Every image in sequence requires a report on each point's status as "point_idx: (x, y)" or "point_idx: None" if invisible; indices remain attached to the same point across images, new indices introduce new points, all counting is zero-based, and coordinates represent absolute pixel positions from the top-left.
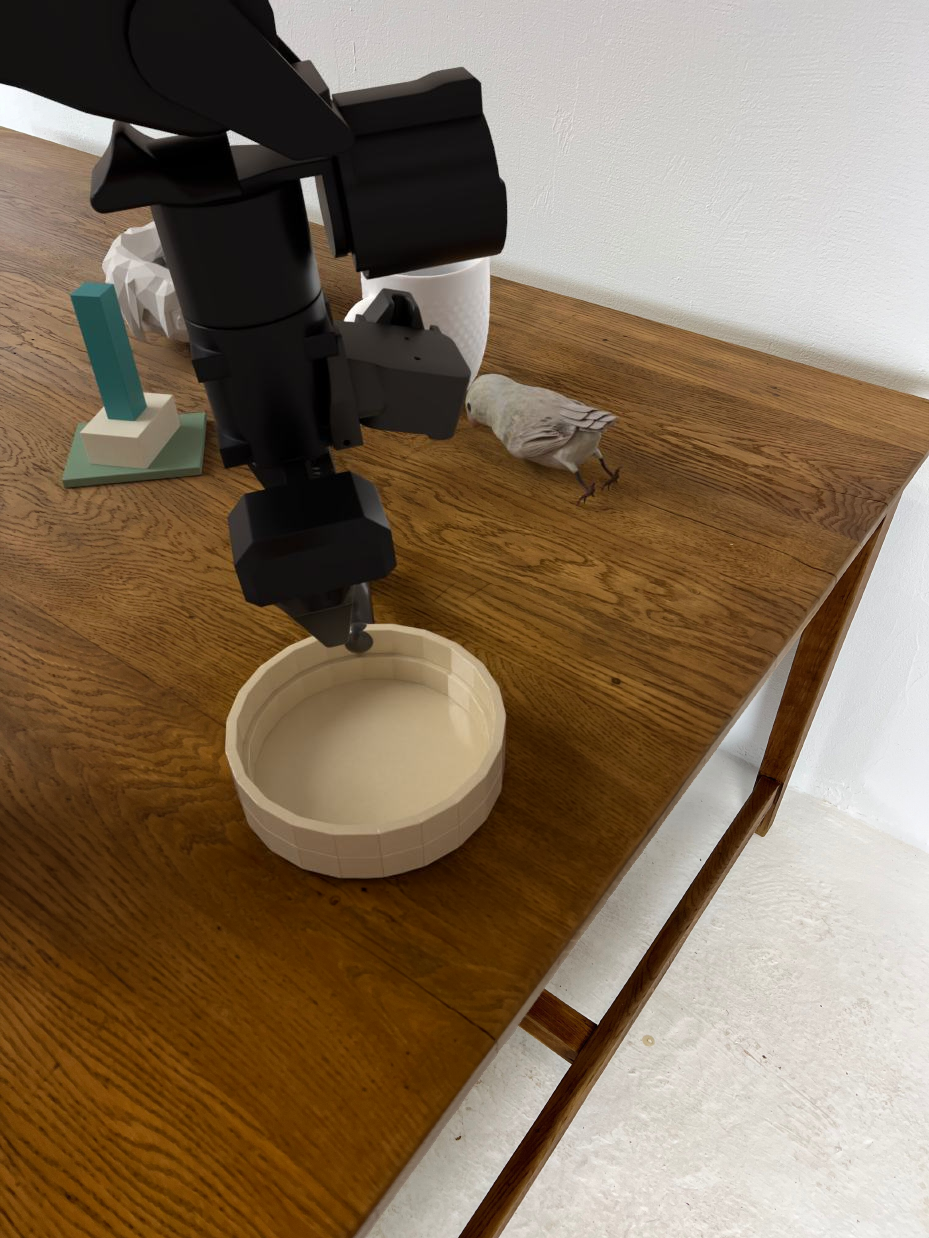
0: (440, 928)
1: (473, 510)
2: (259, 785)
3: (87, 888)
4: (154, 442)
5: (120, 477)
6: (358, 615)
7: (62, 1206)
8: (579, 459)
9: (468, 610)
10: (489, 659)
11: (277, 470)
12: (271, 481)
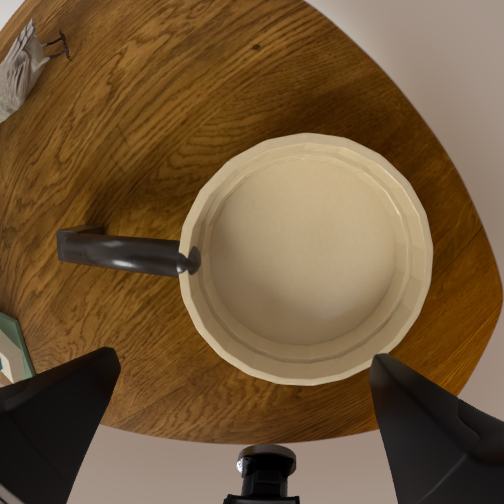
0: (436, 236)
1: (49, 135)
2: (303, 342)
3: (335, 416)
4: (7, 345)
5: (29, 363)
6: (166, 260)
7: (455, 394)
8: (42, 54)
9: (141, 144)
10: (203, 134)
11: (62, 450)
12: (77, 449)
